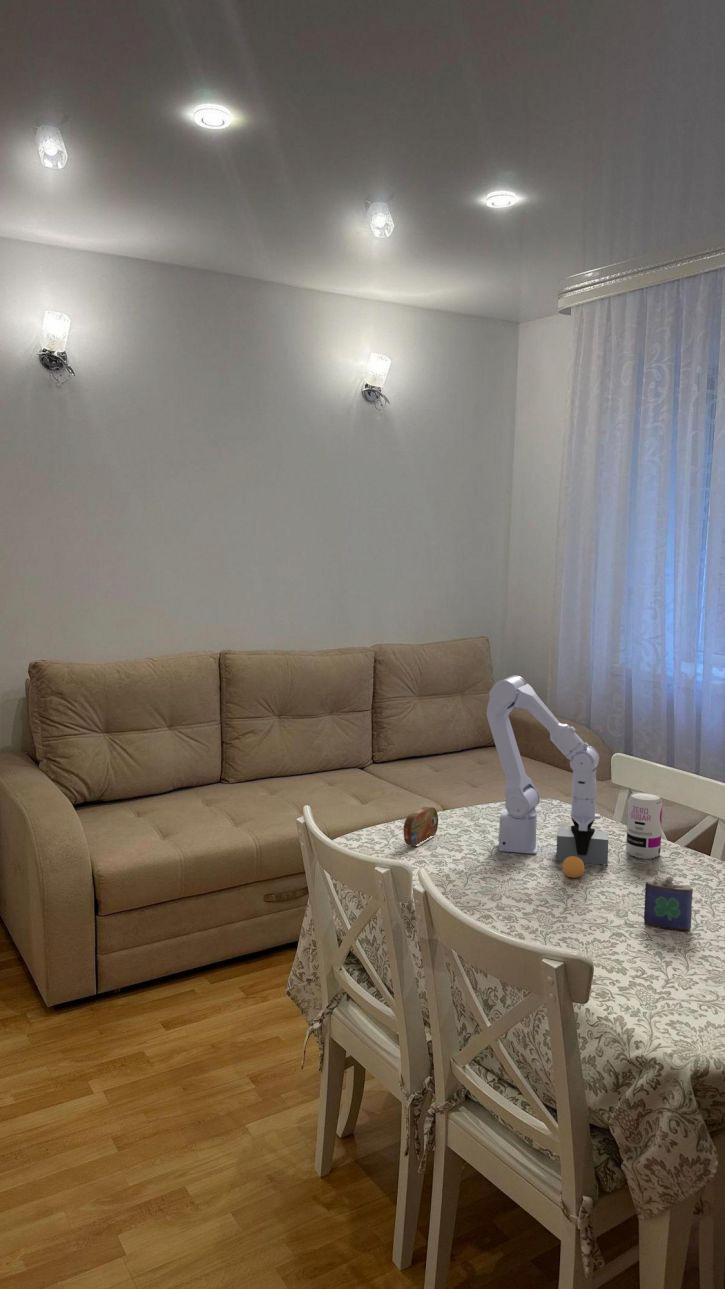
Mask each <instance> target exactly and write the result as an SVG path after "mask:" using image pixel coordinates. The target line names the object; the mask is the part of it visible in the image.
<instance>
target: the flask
mask: <svg viewBox="0 0 725 1289" xmlns="http://www.w3.org/2000/svg"><path fill="white" fill-rule="evenodd" d="M665 879H666V880H664V881H661V880H658V881H657V879H654V880H648V881H646V882H645V888H644V889H645V891H644V912H643V922H644V923H643V925H645V926H646V927H651V928H656V929H661V930H668V931H675V932H676V931H677V932H687V933H688V932H690V931H691V929H692V915H693V914H692V912H693V911H692V910H693V909H692V908H693V891H694V890H693V888H692V887H691V886H689V885H681V884H674V883H673V881H674V877H673V876H666V878H665Z"/></svg>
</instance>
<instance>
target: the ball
mask: <svg viewBox="0 0 725 1289" xmlns="http://www.w3.org/2000/svg"><path fill="white" fill-rule="evenodd" d="M562 871H563V873H564V874H565V875H566V876H567V877H569V878H572V879H576V878H579V877H581V876H582V875H583V874H584V871H585V863H583V861H582V860H581V859H580V858H578V857H576V856H570V857H567V858H566V859H565V860H564V862H563V861H562Z"/></svg>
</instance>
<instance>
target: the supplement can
mask: <svg viewBox="0 0 725 1289" xmlns="http://www.w3.org/2000/svg"><path fill="white" fill-rule="evenodd" d="M626 817H627V819H626V820H627V821H626V822H627V823H626V840H625V842H626V845H625V847H626V848H625V850H626V852H627V853H628V855H630V854H631V855H632V857H633V856H635V857H634V858H636V857H637V858H636V859H641V858H643V859H644V860H652V858H653V859H656V858H658V856H660V854H661V846H662V845H661V844H662V826H663V825H662V824H663V802H662V799H661V796H660V795H658V794H656V793H652V792H646V791H645V792H644V791H642V792H641V791H640V792H638V791H636V792H632V793H631V794H630V797H629V798H628V801H627V815H626ZM631 855H630V856H631ZM655 857H656V858H655ZM643 859H642V860H643Z"/></svg>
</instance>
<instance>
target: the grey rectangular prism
mask: <svg viewBox="0 0 725 1289" xmlns="http://www.w3.org/2000/svg"><path fill="white" fill-rule="evenodd" d="M556 833H557V834H556V852H555V854H556V860H555V861H556V862H563V861H564V860H565V859H566V858H567V857H570V856H576V857H578V858H580V859H581V860H582V861H583V863H584V864H587V863H591V865H599V864H606V865H605V866H608V862H609V861H608V860H609V859H608V858H609V832H608V831H603V830H595V832H594V834H593V836H592V837H591V840H590V843H589V848H588V852H587V855H586V856H585V855H578V854H577V849H576V842H575V838H574V835H573V833H572V830H571V828H566V827H565V828H564V827H557V832H556Z"/></svg>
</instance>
